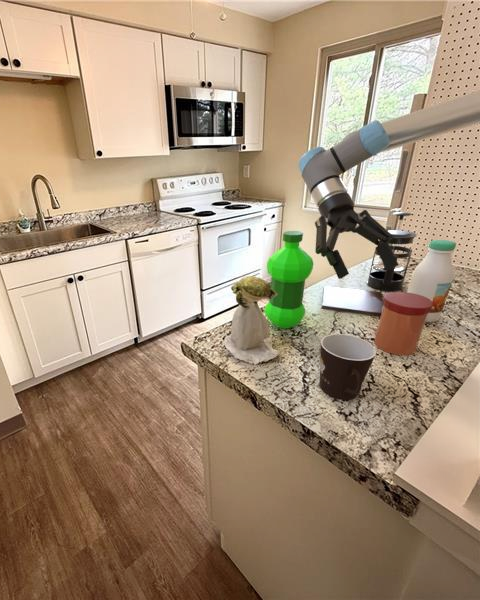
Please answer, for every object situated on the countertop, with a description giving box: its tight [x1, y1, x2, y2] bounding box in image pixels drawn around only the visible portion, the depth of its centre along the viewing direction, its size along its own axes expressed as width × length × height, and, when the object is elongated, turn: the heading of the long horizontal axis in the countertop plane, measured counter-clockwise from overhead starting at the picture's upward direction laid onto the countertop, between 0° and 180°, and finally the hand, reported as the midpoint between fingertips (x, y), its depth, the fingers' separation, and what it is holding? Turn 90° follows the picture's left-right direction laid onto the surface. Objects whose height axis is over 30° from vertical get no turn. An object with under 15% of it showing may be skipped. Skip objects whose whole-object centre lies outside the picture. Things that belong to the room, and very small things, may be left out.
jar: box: [373, 305, 428, 356], centre depth 69 cm, size 8×8×12 cm
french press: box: [366, 211, 418, 292], centre depth 94 cm, size 12×9×23 cm
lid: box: [382, 291, 433, 315], centre depth 67 cm, size 8×8×2 cm
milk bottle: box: [406, 239, 457, 323], centre depth 77 cm, size 8×8×20 cm
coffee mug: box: [319, 333, 377, 401], centre depth 58 cm, size 12×9×10 cm
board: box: [320, 285, 384, 317], centre depth 92 cm, size 15×15×1 cm
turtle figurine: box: [223, 275, 280, 366], centre depth 72 cm, size 12×13×18 cm
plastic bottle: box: [264, 230, 314, 329], centre depth 79 cm, size 10×10×25 cm
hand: (368, 272), depth 74 cm, fingers open, 13 cm apart
